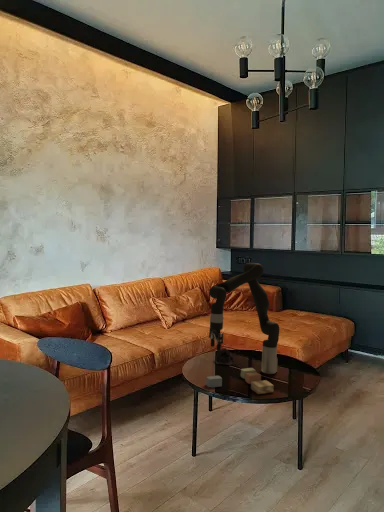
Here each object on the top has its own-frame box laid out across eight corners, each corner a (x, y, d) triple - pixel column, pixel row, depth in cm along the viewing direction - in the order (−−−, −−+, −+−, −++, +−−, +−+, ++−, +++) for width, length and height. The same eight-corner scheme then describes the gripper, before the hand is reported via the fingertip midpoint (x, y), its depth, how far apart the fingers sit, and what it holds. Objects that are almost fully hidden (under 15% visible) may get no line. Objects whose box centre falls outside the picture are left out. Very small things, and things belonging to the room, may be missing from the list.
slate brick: (218, 383, 232) (218, 375, 232) (221, 386, 228) (222, 378, 227) (206, 385, 229) (206, 376, 229) (209, 387, 225) (209, 379, 225)
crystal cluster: (227, 368, 262) (229, 353, 262) (210, 362, 270) (212, 347, 269) (236, 364, 273) (239, 351, 272) (220, 359, 281) (222, 345, 280)
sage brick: (251, 375, 248) (252, 367, 248) (255, 377, 244) (255, 370, 244) (240, 376, 245) (240, 368, 245) (244, 379, 241) (244, 371, 241)
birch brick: (265, 386, 229) (266, 380, 229) (273, 392, 222) (273, 385, 222) (250, 388, 226) (251, 381, 226) (257, 394, 218) (258, 387, 218)
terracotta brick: (257, 380, 240) (257, 372, 240) (260, 382, 236) (261, 374, 235) (245, 381, 237) (245, 373, 237) (248, 384, 233) (249, 375, 233)
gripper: (227, 323, 221) (226, 351, 222) (217, 318, 234) (216, 344, 235) (215, 323, 218) (214, 352, 219) (205, 318, 232) (204, 345, 233)
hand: (215, 348), depth 227 cm, fingers open, 8 cm apart
